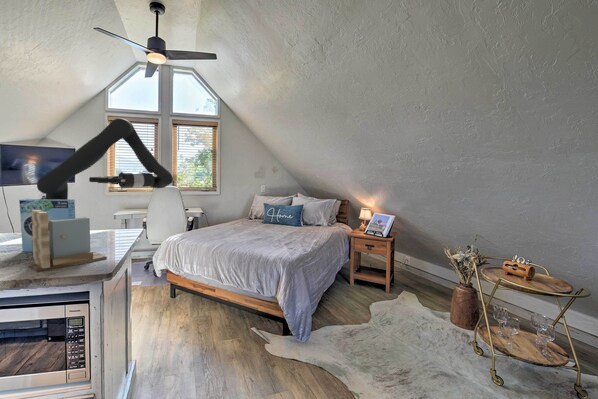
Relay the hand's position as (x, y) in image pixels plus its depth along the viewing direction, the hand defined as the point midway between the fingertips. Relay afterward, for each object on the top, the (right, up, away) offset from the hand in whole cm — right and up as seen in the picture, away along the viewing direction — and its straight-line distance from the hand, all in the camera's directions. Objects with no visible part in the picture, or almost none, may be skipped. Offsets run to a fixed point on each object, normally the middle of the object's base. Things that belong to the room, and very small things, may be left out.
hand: (93, 180), depth 133 cm
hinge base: (0, -33, -14) cm, 36 cm away
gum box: (-20, -32, +1) cm, 37 cm away
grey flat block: (+1, -32, -14) cm, 35 cm away
